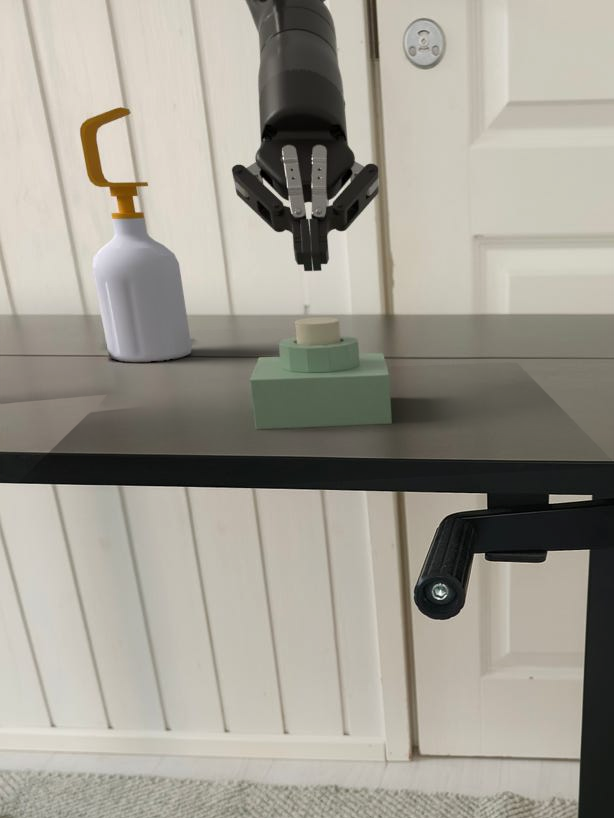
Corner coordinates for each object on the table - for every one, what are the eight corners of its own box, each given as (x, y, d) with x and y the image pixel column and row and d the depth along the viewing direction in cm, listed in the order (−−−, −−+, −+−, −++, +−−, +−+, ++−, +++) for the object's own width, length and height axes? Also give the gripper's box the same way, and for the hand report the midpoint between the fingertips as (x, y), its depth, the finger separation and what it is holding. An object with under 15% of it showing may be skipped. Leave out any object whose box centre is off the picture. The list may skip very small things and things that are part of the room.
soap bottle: (183, 362, 101) (143, 105, 90) (99, 364, 100) (48, 105, 89) (199, 348, 109) (165, 110, 98) (122, 350, 108) (78, 111, 97)
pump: (296, 350, 75) (293, 324, 74) (298, 343, 78) (295, 318, 77) (341, 349, 75) (339, 322, 74) (340, 341, 78) (338, 316, 77)
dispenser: (255, 430, 74) (246, 353, 71) (264, 402, 83) (255, 333, 80) (391, 424, 75) (387, 348, 72) (385, 397, 84) (381, 329, 81)
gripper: (218, 65, 77) (223, 232, 72) (376, 66, 79) (392, 229, 73) (232, 139, 84) (238, 296, 79) (377, 138, 86) (391, 292, 80)
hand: (312, 264), depth 76 cm, fingers closed
